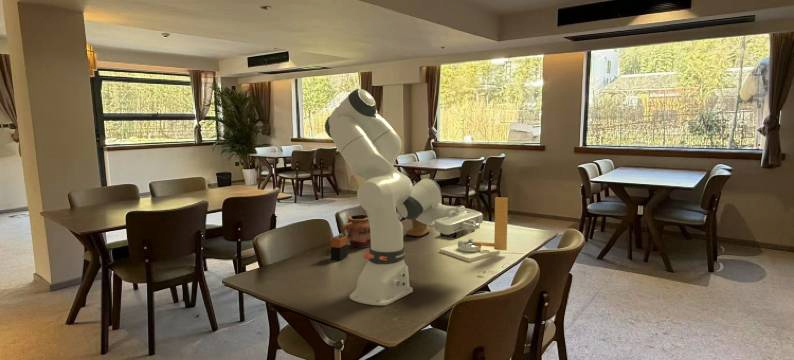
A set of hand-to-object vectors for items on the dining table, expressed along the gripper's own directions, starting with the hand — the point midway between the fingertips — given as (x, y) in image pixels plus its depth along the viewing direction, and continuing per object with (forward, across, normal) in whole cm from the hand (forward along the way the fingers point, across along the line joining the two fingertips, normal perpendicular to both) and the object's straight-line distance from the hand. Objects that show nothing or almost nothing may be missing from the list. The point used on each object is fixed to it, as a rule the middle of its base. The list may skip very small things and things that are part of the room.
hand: (477, 227), depth 157 cm
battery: (-57, -18, +24) cm, 64 cm away
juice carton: (-49, +49, +28) cm, 75 cm away
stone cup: (-62, +35, +27) cm, 76 cm away
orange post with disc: (-20, +30, +22) cm, 42 cm away
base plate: (-24, +27, +24) cm, 43 cm away
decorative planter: (-65, -1, +26) cm, 70 cm away
